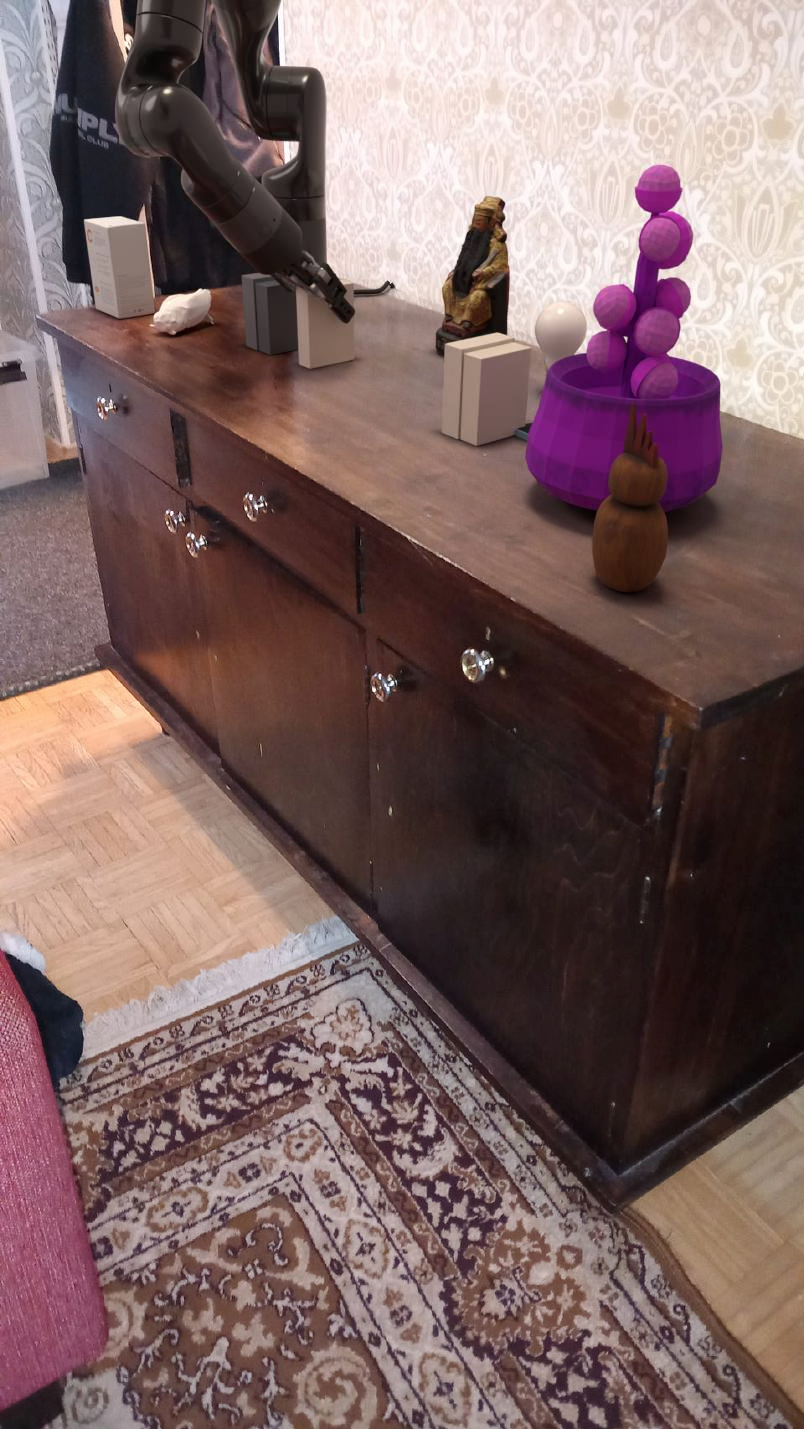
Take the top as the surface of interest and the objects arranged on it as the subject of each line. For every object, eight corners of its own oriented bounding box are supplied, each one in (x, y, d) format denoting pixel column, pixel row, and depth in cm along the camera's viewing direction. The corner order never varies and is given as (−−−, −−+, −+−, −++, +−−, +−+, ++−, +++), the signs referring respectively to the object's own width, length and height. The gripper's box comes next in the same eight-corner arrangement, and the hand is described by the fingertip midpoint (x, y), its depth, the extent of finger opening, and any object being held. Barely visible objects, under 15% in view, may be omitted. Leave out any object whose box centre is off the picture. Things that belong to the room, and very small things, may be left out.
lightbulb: (586, 388, 137) (596, 299, 131) (571, 402, 132) (580, 310, 126) (539, 382, 139) (546, 293, 133) (522, 395, 134) (529, 304, 128)
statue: (428, 350, 151) (432, 194, 140) (475, 343, 154) (483, 190, 143) (474, 372, 142) (482, 208, 131) (523, 365, 145) (535, 204, 134)
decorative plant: (547, 456, 117) (576, 146, 100) (720, 479, 112) (782, 158, 95) (502, 521, 102) (527, 171, 85) (699, 552, 97) (768, 186, 80)
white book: (298, 364, 144) (295, 286, 139) (343, 355, 148) (341, 279, 143) (310, 369, 143) (307, 290, 137) (354, 359, 147) (353, 282, 141)
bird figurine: (185, 329, 163) (144, 326, 155) (194, 283, 161) (153, 278, 152) (211, 339, 162) (171, 338, 153) (221, 293, 159) (181, 289, 151)
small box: (156, 313, 166) (146, 222, 159) (118, 319, 163) (106, 226, 155) (131, 303, 171) (120, 214, 164) (94, 309, 168) (82, 218, 160)
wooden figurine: (580, 565, 94) (601, 396, 86) (645, 564, 95) (671, 395, 86) (599, 602, 88) (622, 424, 80) (667, 600, 89) (697, 423, 81)
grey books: (245, 346, 151) (241, 275, 146) (298, 336, 156) (295, 267, 151) (269, 355, 148) (265, 282, 142) (321, 344, 152) (320, 274, 147)
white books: (441, 432, 122) (444, 343, 117) (492, 419, 127) (497, 332, 121) (475, 446, 119) (480, 355, 113) (526, 431, 123) (533, 343, 117)
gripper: (307, 207, 125) (386, 300, 138) (241, 191, 134) (321, 280, 148) (272, 260, 125) (354, 348, 139) (208, 241, 134) (291, 325, 148)
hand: (336, 312), depth 143 cm, fingers open, 5 cm apart
